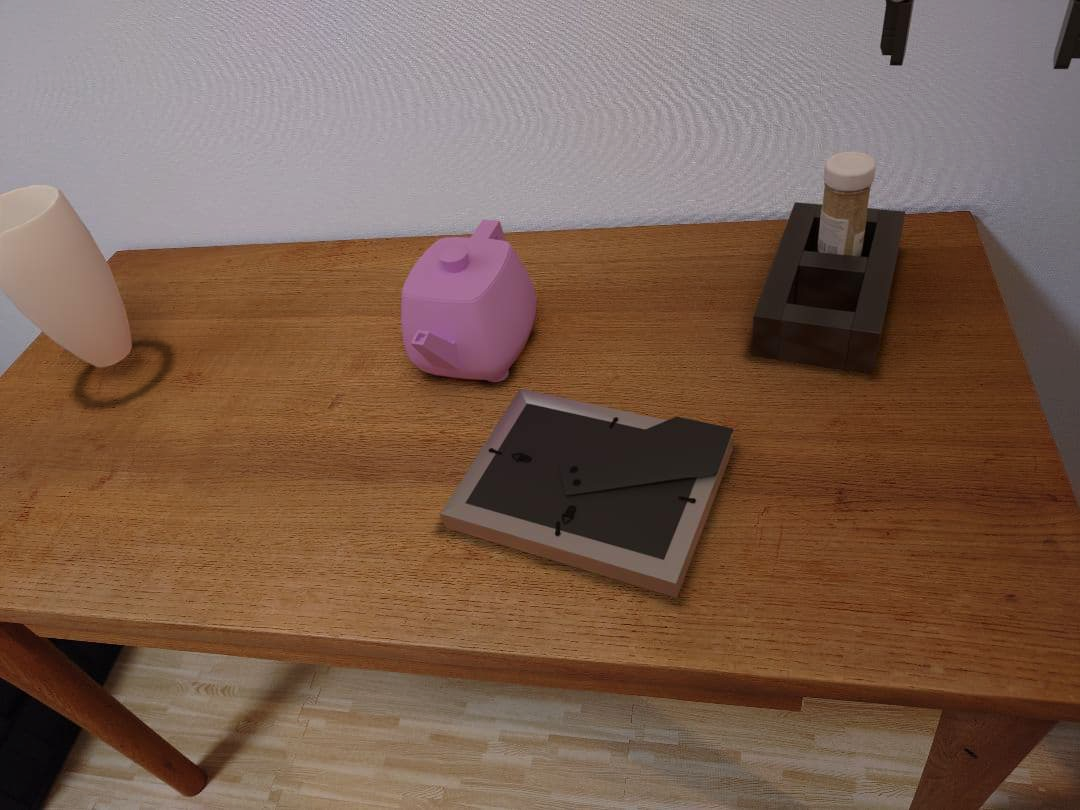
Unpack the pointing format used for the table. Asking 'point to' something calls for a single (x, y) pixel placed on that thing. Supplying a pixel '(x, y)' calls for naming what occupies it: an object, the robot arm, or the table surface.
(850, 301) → the holder
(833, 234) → the spice jar
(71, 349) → the peach conical vase
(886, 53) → the robot arm
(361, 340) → the table surface
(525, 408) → the picture frame
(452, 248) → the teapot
